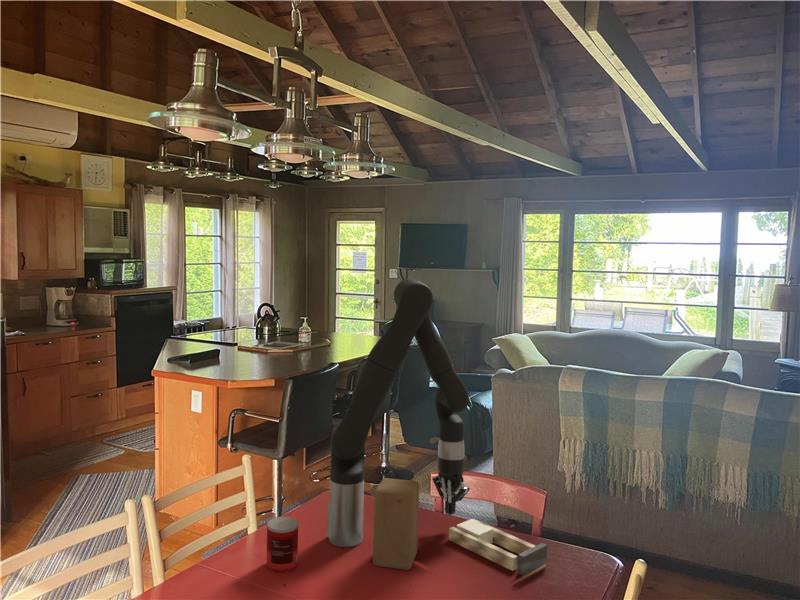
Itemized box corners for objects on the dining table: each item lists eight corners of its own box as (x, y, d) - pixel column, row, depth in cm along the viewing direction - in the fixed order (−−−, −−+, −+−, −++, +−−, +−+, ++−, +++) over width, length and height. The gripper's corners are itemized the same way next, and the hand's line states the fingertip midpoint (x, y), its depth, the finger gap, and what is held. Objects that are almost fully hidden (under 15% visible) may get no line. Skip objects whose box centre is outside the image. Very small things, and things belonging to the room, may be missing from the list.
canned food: (285, 554, 166) (286, 514, 165) (303, 566, 160) (304, 524, 159) (260, 564, 160) (260, 522, 159) (278, 576, 155) (278, 533, 154)
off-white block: (456, 538, 176) (456, 524, 175) (470, 532, 180) (471, 519, 179) (478, 549, 170) (478, 535, 170) (492, 542, 174) (493, 528, 174)
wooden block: (410, 572, 159) (413, 494, 157) (371, 566, 161) (373, 490, 159) (417, 553, 168) (420, 480, 167) (380, 548, 170) (382, 476, 169)
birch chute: (445, 541, 176) (446, 521, 175) (469, 531, 183) (470, 512, 182) (522, 578, 157) (523, 556, 156) (546, 566, 164) (547, 545, 163)
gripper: (425, 451, 183) (424, 510, 184) (459, 463, 173) (458, 525, 174) (443, 446, 188) (442, 503, 189) (477, 457, 178) (476, 517, 179)
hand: (450, 513), depth 181 cm, fingers closed
